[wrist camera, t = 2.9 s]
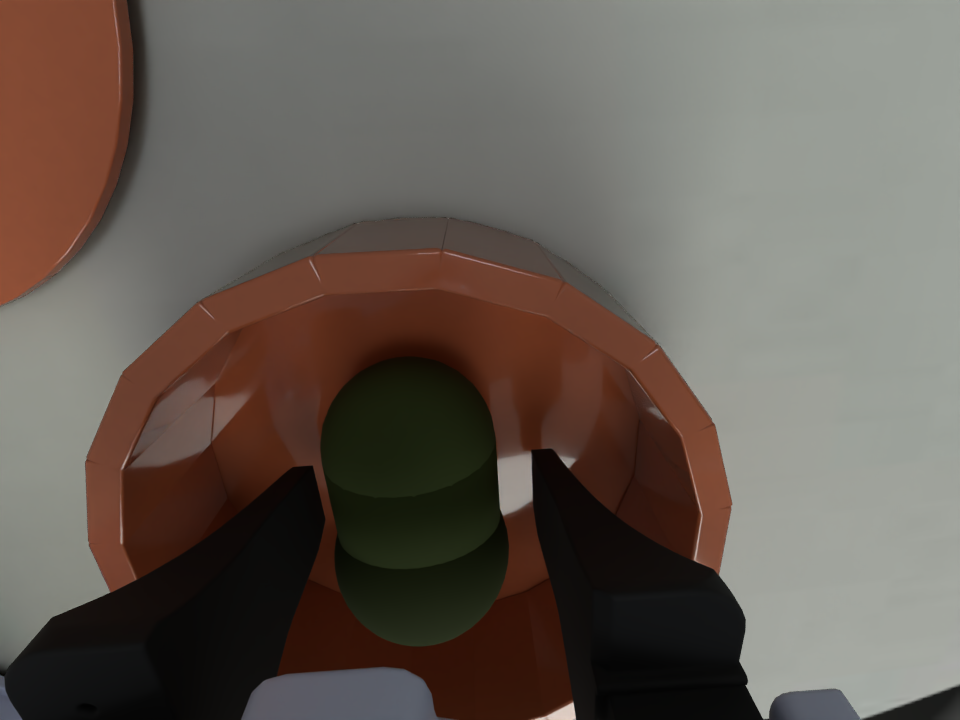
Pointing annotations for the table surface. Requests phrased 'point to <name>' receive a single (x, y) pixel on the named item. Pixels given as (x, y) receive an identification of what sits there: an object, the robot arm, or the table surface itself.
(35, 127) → the lid
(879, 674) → the table surface
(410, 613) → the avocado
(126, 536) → the pot
